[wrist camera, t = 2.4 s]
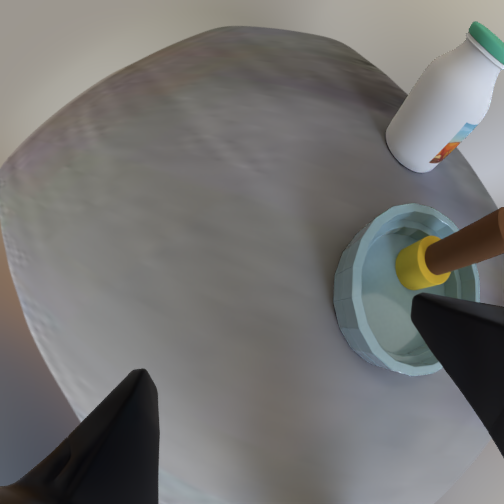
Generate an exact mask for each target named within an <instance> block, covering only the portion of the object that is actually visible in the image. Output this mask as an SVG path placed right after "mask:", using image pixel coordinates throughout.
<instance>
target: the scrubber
mask: <svg viewBox="0 0 504 504" xmlns="http://www.w3.org/2000/svg"><path fill="white" fill-rule="evenodd" d="M503 253H504V207H501V208H500V209H498V210H496V211H494V212H492V213H491V214H489V215H487V216H485V217H483V218H482V219H480V220H478V221H476V222H474V223H472V224H470V225H468V226H467V227H465V228H463V229H461V230H459V231H457V232H455V233H453V234H451V235H449V236H447V237H445V238H443V239H440V238H439V237H436V236H427V237H425V238H423V239H421V240H419V241H417V242H415V243H413V244H411V245H410V246H408V247H406V248H404V249H402V250H401V251H400V252H399V254H398V256H397V258H396V263H395V269H396V274H397V277H398V279H399V281H400V282H401V284H402V285H403V286H404V287H406V288H407V289H409V290H419V289H423V288H427V287H431V286H435V285H439V284H442V283H444V282H445V281H446V280H447V279H448V278H449V276H450V273H451V271H454V270H457V269H460V268H463V267H466V266H469V265H472V264H475V263H478V262H481V261H484V260H487V259H489V258H492V257H495V256H498V255H500V254H503Z"/></svg>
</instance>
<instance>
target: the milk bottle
mask: <svg viewBox="0 0 504 504" xmlns="http://www.w3.org/2000/svg"><path fill="white" fill-rule="evenodd" d="M466 36H467V38H466V40H465V41H464V42H463V43H462V44H461V45H460V46H458V47H457V48H456V49H454V50H452V51H450V52H447V53H445V54H443V55H441V56H439V57H438V58H436V59H435V60H434V61H432V62H431V63H430V65H429V66H428V67H427V68H426V69H425V71H424V72H423V74H422V75H421V77H420V78H419V80H418V81H417V83H416V84H415V86H414V87H413V89H412V90H411V92H410V93H409V95H408V96H407V98H406V99H405V101H404V103H403V104H402V106H401V107H400V109H399V110H398V112H397V113H396V115H395V116H394V118H393V119H392V121H391V123H390V124H389V126H388V128H387V130H386V142H387V145H388V147H389V149H390V151H391V153H392V154H393V155H394V157H395V158H396V159H397V160H398V161H399V162H400V163H401V164H402V165H403V166H405V167H407V168H408V169H410V170H412V171H415V172H418V173H424V172H429V171H431V170H432V169H433V168H434V167H436V166H437V165H438V164H439V163H440V162H441V161H442V160H443V159H444V158H445V157H446V156H447V155H448V154H449V153H451V152H452V151H453V150H454V149H455V148H456V147H457V146H458V145H459V144H460V143H461V142H462V141H463V140H464V139H465V138H466V137H467V136H468V135H469V133H471V131H472V130H474V128H475V127H476V126H477V125H478V124H479V123H480V121H481V120H482V119H483V118H484V116H485V115H486V113H487V111H488V109H489V106H490V103H491V98H492V93H493V89H494V85H495V81H496V78H497V76H498V74H499V72H500V71H501V70H502V69H503V70H504V43H503V42H502V41H501V40H500V39H499V38H498V37H497V36H495V34H493V33H492V32H491V31H490V30H489V29H487V28H486V27H485V26H483V25H482V24H480V23H478V22H473V23H472V25H471V26H470V28H469V32H468V33H466Z"/></svg>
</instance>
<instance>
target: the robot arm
mask: <svg viewBox="0 0 504 504" xmlns="http://www.w3.org/2000/svg"><path fill="white" fill-rule="evenodd" d="M411 321H412V323H413V324H414V326H415V327H416V329H417V331H418V332H419V334H420V335H421V337H422V338H423V340H424V341H425V343H426V344H427V346H428V348H429V349H430V351H431V352H432V353H433V355H434V356H435V358H436V359H437V360H438V361H439V363H440V364H441V365H442V367H443V368H444V369H445V370H446V372H447V373H448V374H449V376H450V377H451V378H452V380H453V381H454V383H455V384H456V385H457V387H458V388H459V389H460V391H461V392H462V394H463V395H464V396H465V398H466V399H467V401H468V402H469V404H470V405H471V406H472V408H473V409H474V411H475V412H476V414H477V415H478V417H479V418H480V420H481V421H482V423H483V424H484V426H485V427H486V429H487V431H489V434H490V436H491V437H492V439H493V441H494V442H495V444H496V445H497V447H498V449H499V451H500V452H501V454H502V456H503V457H504V307H502V306H496V305H490V304H485V303H479V302H474V301H468V300H463V299H457V298H452V297H446V296H441V295H436V294H430V293H425V292H422V293H419V294H417V295H415V296H414V297H413V299H412V306H411ZM159 438H160V430H159V412H158V392H157V388H156V386H155V384H154V382H153V380H152V379H151V377H150V375H149V373H148V372H147V370H146V369H136V370H133V371H131V372H130V373H129V375H128V376H127V377H126V378H125V379H124V380H123V381H122V382H121V383H120V384H119V385H118V386H117V387H116V388H115V389H114V390H113V391H112V392H111V393H110V394H109V395H108V396H107V397H106V398H105V399H104V400H103V401H102V402H101V403H100V404H99V405H98V406H97V407H96V408H95V409H94V410H93V411H92V412H91V413H90V414H89V415H88V416H87V417H86V418H85V419H84V420H83V421H82V422H81V423H80V425H79V426H77V427H76V428H75V430H74V431H73V432H72V433H71V434H70V435H69V436H68V438H66V439H65V440H64V441H63V442H62V443H61V444H60V445H59V446H58V447H57V448H56V449H55V450H54V451H53V452H52V453H51V454H50V455H48V456H47V457H46V458H45V459H44V460H43V461H41V462H40V463H39V464H38V465H37V466H35V467H34V468H33V469H32V470H31V471H29V472H28V473H27V474H26V475H25V476H23V477H22V478H21V479H20V480H18V481H17V482H15V483H13V484H11V485H8V486H0V504H158V466H159Z"/></svg>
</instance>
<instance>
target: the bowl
mask: <svg viewBox="0 0 504 504" xmlns="http://www.w3.org/2000/svg"><path fill="white" fill-rule="evenodd" d="M457 231H459V229H458V228H457V227H456V225H455V224H454V223H453V222H452V221H451V220H450V219H449V218H448V217H446V216H445V215H443V214H442V213H440V212H438V211H437V210H435V209H434V208H432V207H428V206H424V205H420V204H415V203H410V204H404V205H398V206H393V207H391V208H390V209H388V210H387V211H385V212H384V213H382V214H381V215H379V216H378V217H376V218H375V219H374V220H373V221H371V222H370V223H369V224H368V225H367V226H365V227H364V228H363V229H362V230H361V231H359V232H358V233H357V234H356V235H355V236H354V238H353V239H352V240H351V242H350V243H349V244H348V246H347V247H346V248H345V250H344V251H343V253H342V256H341V259H340V261H339V264H338V267H337V270H336V273H335V276H334V297H333V303H334V307H335V311H336V316H337V320H338V324H339V328H340V330H341V332H342V333H343V335H344V337H345V338H346V340H347V342H348V344H349V345H350V347H351V348H352V350H354V351H355V352H356V353H357V354H358V355H359V356H361V357H362V358H363V359H364V360H365V361H366V362H368V363H369V364H372V365H375V366H378V367H381V368H385V369H388V370H391V371H395V372H398V373H402V374H405V375H409V376H419V375H426V374H432V373H435V372H436V371H438V370H440V369H441V368H443V367H442V365H441V364H440V363H439V361H438V360H437V359H436V358H435V356H434V355H433V353H432V352H431V351H430V349H429V348H428V346H427V344H426V343H425V341H424V340H423V338H422V337H421V335H420V334H419V332H418V331H417V329H416V327H415V326H414V324H413V323H412V321H411V306H412V299H413V297H414V296H415V295H417V294H419V293H422V292H425V293H430V294H436V295H441V296H446V297H452V298H457V299H463V300H468V301H474V302H479V303H480V283H479V274H478V270H477V266H476V263H475V264H472V265H469V266H466V267H463V268H460V269H457V270H454V271H451V273H450V276H449V278H448V279H447V280H446V281H445V282H444V283H442V284H439V285H435V286H431V287H427V288H423V289H419V290H409V289H407V288H406V287H404V286H403V285H402V284H401V282H400V281H399V279H398V277H397V274H396V269H395V263H396V258H397V256H398V254H399V252H400V251H401V250H402V249H404V248H406V247H408V246H410V245H411V244H413V243H415V242H417V241H419V240H421V239H423V238H425V237H427V236H436V237H439V238H440V239H443V238H445V237H447V236H449V235H451V234H453V233H455V232H457Z"/></svg>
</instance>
